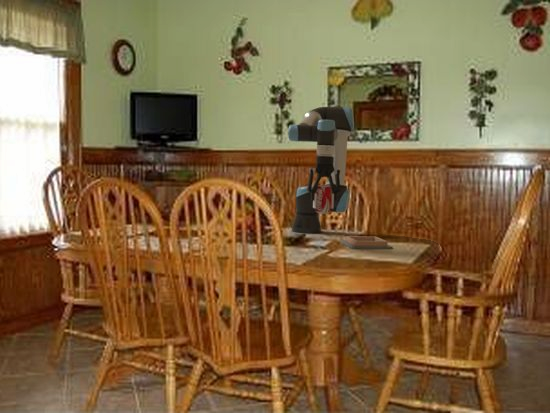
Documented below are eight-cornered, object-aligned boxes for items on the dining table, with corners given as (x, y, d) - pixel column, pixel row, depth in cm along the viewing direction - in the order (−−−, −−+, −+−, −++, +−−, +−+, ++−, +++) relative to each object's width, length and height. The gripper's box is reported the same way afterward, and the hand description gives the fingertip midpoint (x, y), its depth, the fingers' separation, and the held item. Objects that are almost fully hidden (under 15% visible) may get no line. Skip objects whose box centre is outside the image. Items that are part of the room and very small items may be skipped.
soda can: (331, 214, 250) (332, 186, 249) (315, 213, 251) (316, 185, 249) (330, 212, 257) (331, 185, 256) (314, 211, 258) (315, 184, 256)
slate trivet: (340, 242, 262) (340, 235, 261) (377, 242, 265) (378, 236, 265) (352, 248, 244) (352, 241, 244) (392, 249, 247) (393, 242, 247)
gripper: (304, 155, 246) (302, 208, 248) (349, 156, 250) (347, 209, 252) (300, 154, 253) (298, 206, 256) (344, 156, 257) (342, 207, 259)
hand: (323, 208), depth 254 cm, fingers closed on soda can, 7 cm apart
